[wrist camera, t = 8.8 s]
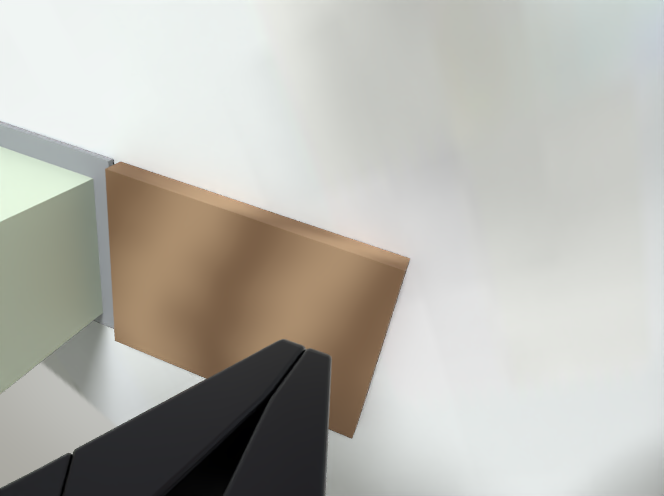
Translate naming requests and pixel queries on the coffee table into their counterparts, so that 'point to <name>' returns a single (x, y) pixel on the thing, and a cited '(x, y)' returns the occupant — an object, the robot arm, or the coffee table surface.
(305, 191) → the coffee table surface
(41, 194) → the tea caddy
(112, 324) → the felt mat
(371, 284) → the walnut board
